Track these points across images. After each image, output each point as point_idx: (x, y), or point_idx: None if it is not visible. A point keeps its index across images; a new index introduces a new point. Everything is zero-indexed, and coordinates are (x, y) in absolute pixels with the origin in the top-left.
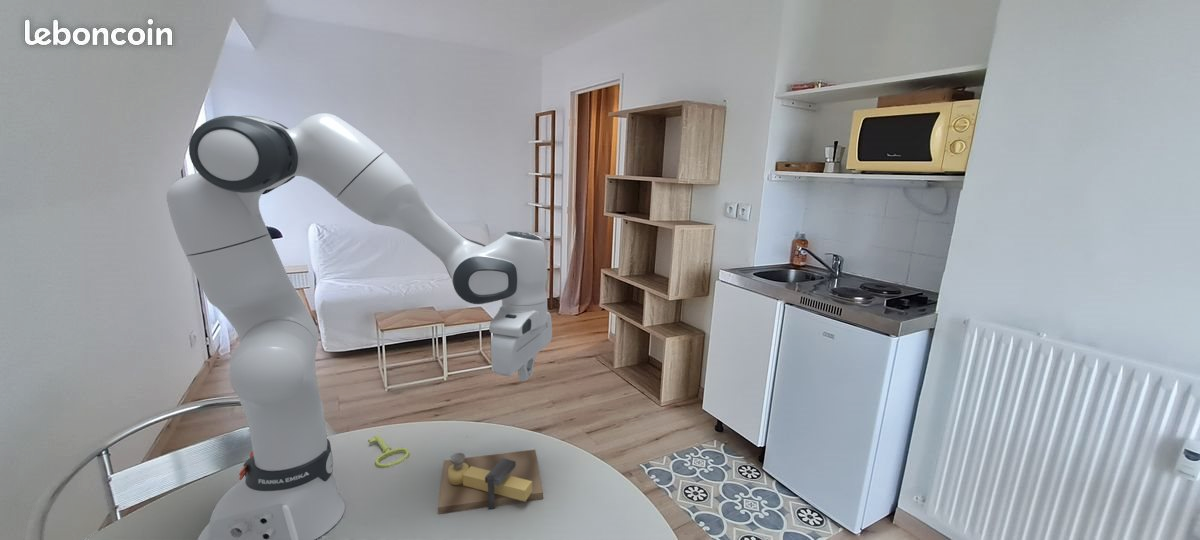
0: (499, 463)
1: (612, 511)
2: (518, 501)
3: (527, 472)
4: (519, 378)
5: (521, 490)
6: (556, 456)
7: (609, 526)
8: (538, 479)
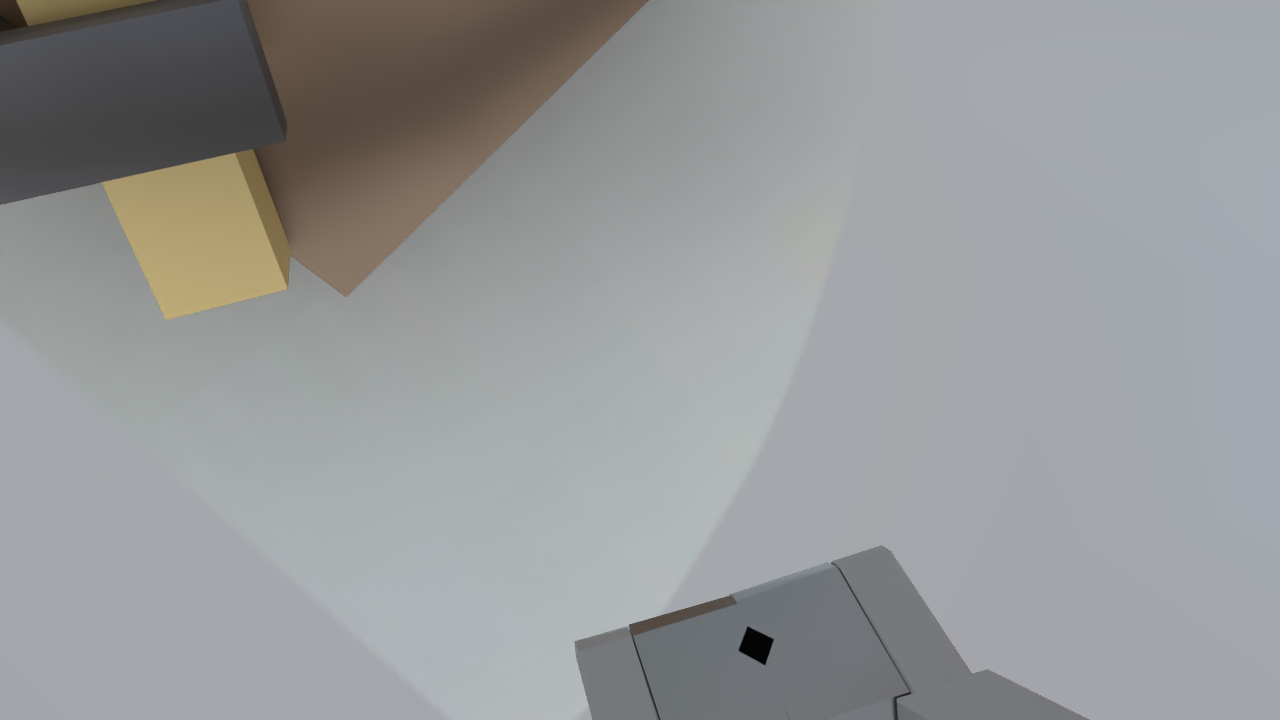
0: (149, 37)
1: (502, 598)
2: None
3: (456, 56)
4: (583, 678)
5: (154, 290)
6: (791, 55)
7: (400, 641)
8: (438, 183)
